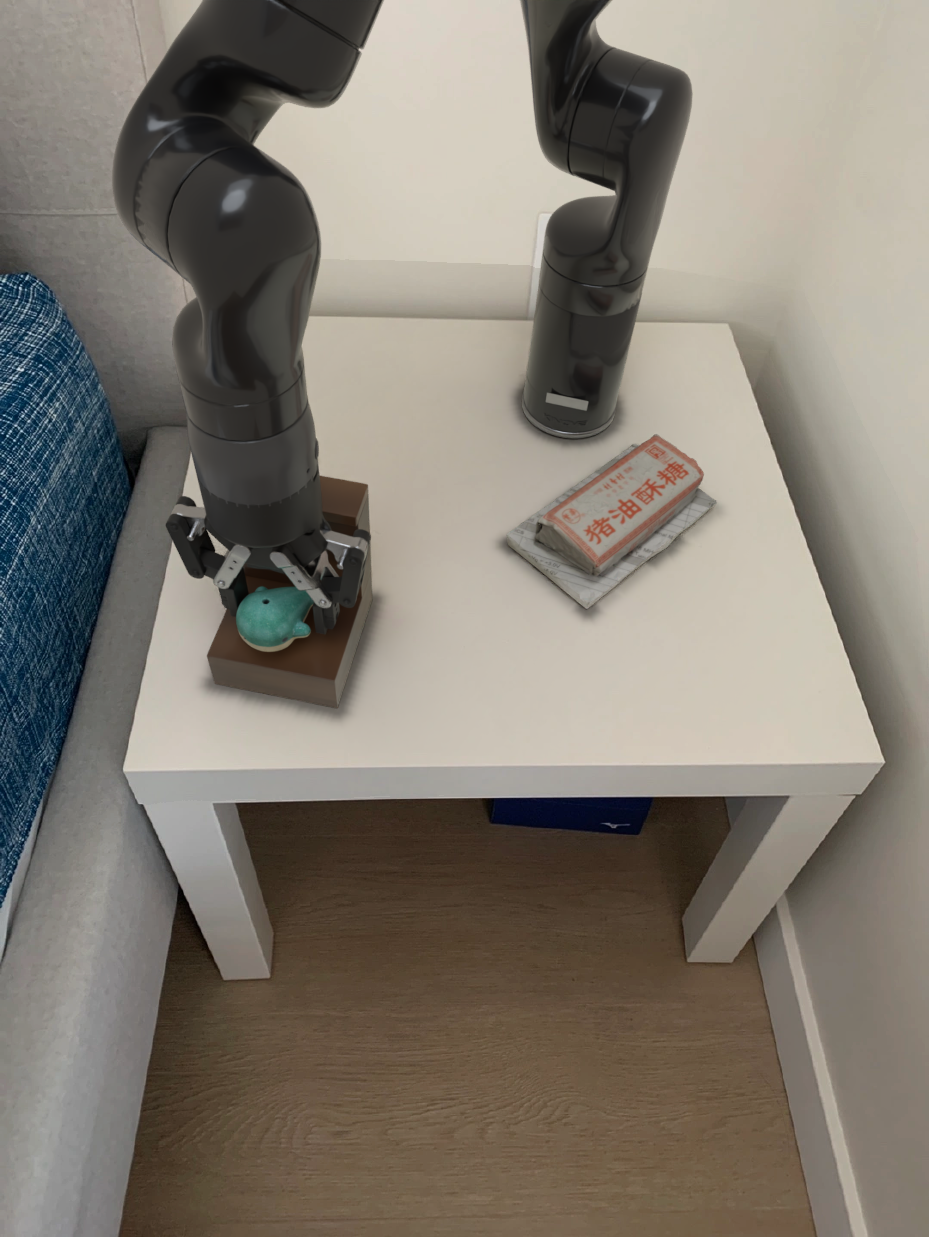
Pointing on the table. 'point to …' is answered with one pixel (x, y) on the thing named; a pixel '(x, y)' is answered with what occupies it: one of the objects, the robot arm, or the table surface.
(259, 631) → the whale figurine
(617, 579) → the packaged product
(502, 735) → the table surface
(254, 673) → the shelf
